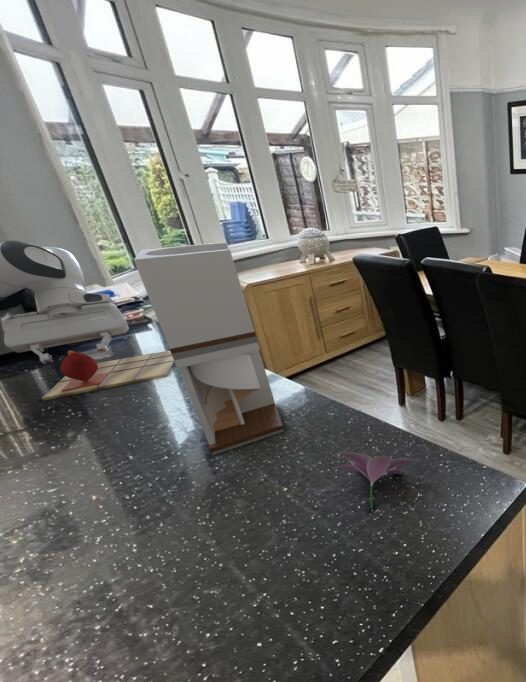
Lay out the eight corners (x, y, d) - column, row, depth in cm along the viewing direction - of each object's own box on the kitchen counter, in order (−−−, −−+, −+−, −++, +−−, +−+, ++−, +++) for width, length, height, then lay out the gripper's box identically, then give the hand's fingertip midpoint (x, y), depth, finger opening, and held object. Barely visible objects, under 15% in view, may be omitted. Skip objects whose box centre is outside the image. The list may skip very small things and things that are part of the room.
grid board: (44, 402, 88) (40, 397, 87) (76, 371, 103) (74, 366, 102) (167, 378, 98) (165, 373, 97) (181, 352, 112) (179, 347, 112)
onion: (98, 373, 98) (84, 343, 95) (106, 378, 95) (92, 348, 92) (65, 383, 93) (49, 352, 90) (73, 389, 91) (57, 357, 87)
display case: (213, 458, 69) (133, 259, 55) (211, 429, 77) (141, 249, 63) (285, 433, 75) (230, 249, 62) (276, 409, 83) (226, 241, 69)
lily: (433, 496, 61) (427, 434, 62) (376, 525, 51) (369, 449, 52) (377, 495, 66) (372, 438, 68) (315, 521, 56) (310, 453, 57)
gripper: (-8, 310, 88) (1, 364, 85) (115, 293, 100) (127, 339, 96) (8, 323, 93) (17, 374, 90) (124, 305, 105) (136, 350, 101)
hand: (75, 356), depth 93 cm, fingers open, 8 cm apart
